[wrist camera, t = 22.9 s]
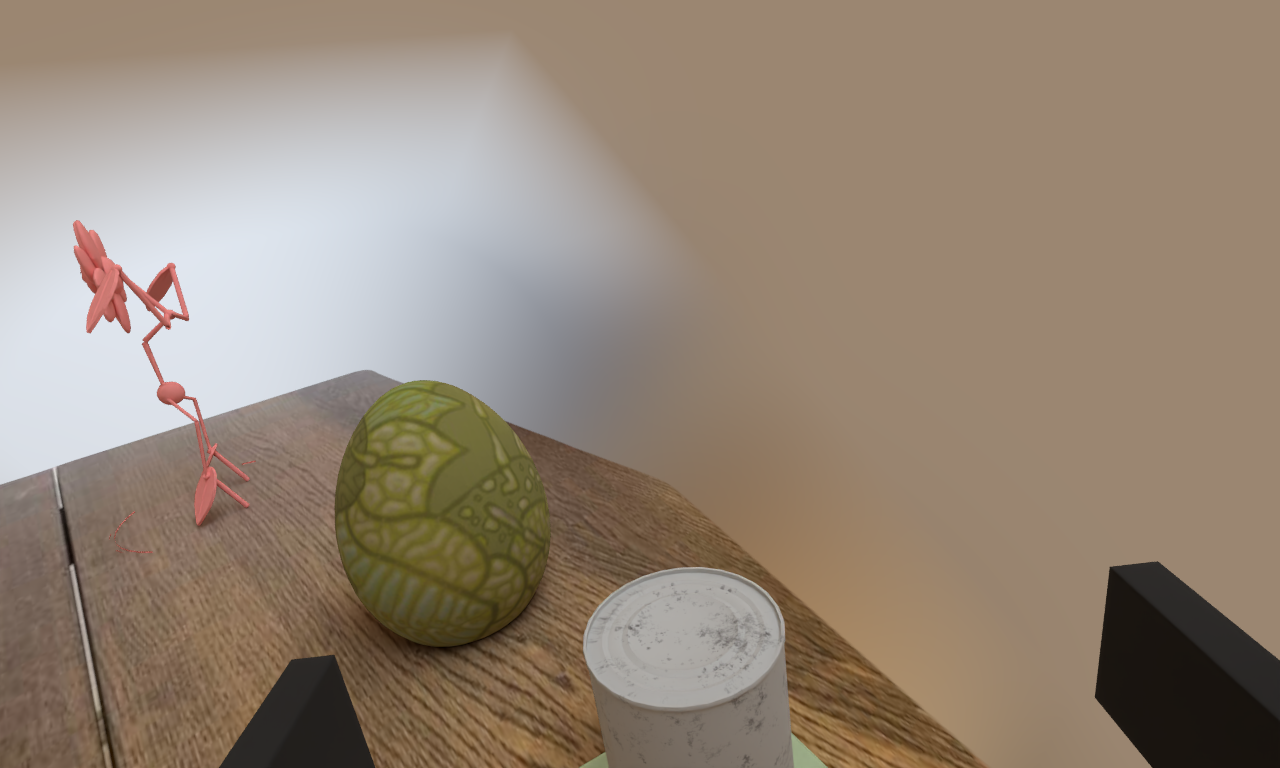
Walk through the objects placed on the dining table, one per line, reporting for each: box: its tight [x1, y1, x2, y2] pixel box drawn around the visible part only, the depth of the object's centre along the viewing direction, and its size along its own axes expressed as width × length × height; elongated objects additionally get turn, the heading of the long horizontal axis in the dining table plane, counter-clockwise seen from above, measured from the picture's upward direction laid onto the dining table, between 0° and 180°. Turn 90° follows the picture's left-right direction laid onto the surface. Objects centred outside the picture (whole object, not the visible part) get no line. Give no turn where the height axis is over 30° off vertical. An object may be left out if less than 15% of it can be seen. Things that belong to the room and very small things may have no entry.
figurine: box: [73, 220, 256, 553], centre depth 77 cm, size 15×26×35 cm, turn 29°
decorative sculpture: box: [335, 380, 551, 647], centre depth 54 cm, size 16×16×20 cm
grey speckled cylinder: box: [583, 567, 794, 768], centre depth 34 cm, size 10×10×12 cm
